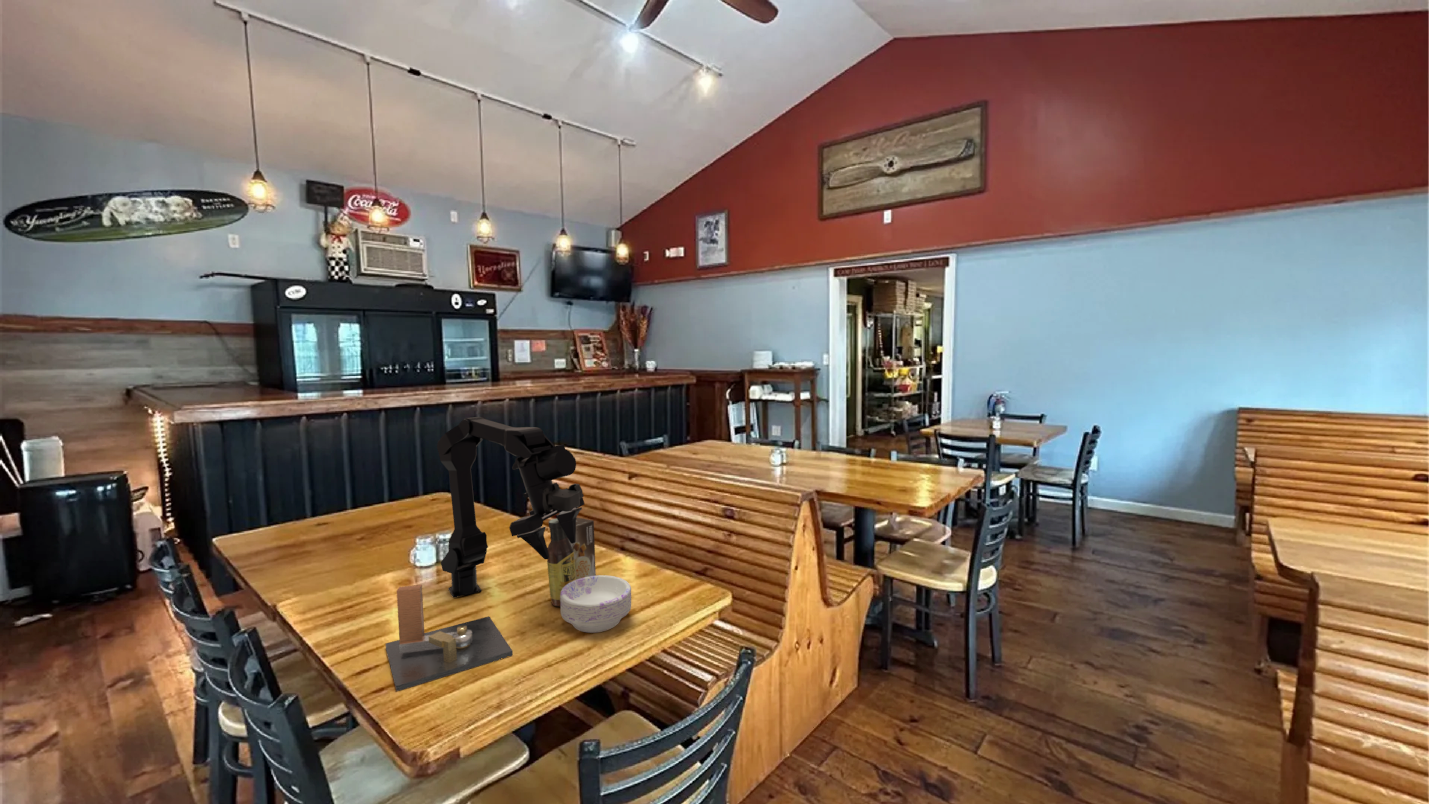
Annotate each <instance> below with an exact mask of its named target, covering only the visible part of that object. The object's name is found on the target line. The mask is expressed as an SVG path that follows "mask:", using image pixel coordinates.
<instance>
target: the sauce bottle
mask: <svg viewBox="0 0 1429 804" xmlns="http://www.w3.org/2000/svg"><path fill="white" fill-rule="evenodd" d="M548 528H549V533H550V534H549V535H550V542H549V544H548V545H547V549H548V553H549V559H546V560H547V562H546V564H547V565H546V566H547V575H548V585H549V586H548V588H549V596H550V599H551V601H550V602H551V604H552V606H555V607H561V605H560V604H561V602H560V593H561V590H562V589H563V587H564V586H566V585H567V584H568V583H570V582H572V581H574V580H576V571H575V560H574V551H573V549H572V546H571V544H570V542H569V540H568V538H567V536H566V534H565V532H564V530H563V529H562V527H561V525H560V523H559V521H558V519H557V518H552V519H550V520H548Z"/></svg>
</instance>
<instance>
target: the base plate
mask: <svg viewBox="0 0 1429 804" xmlns="http://www.w3.org/2000/svg"><path fill="white" fill-rule="evenodd" d="M462 625H465V626H467V629H468V630H471V631H472V642H471V643H470V645H469V646H468V647H466V648H463V649H456V653H457V659H455V660H454V661H452V662H450V663H449V662H446V661H444V654H443V648H438V649H431V650H423V651H416V652H408V653H401V654H400V649H399V644H400V641H399V639H397V640H394V641H390V642H386V643H385V651H386V654H387V659H388V663H389V666H390V670H391V675H392V678H393V683H394V687H395V691H396V692H399V691H402V690H407V689H409V688H412V687H416V686H418V685H422V684H425V683H428V682H432V681H435V680H439V679H441V678H444V677H448V676H452V675H454V674H458V673H461V672H464V671H467V670H470V669H473V668H477V667H480V666H483V665H487V664H490V663H493V661H494V662H497V661H499V659H500V660H502V659H501V658H503V659H506V657H507V656H510V657H513V656H514V655H513V654H514V653H513V649H512V648H511V646H510V645H509V643H508V641H506V638H505V637H504V636H503V635H502V633H501V631H500V630H499V628H498V627H497V626H496V624H495V622H494V621H493V619H492V618H491V616H484V617H481V618H477V619H474V620H470V621H466V622H462V623H459V624H458V623H457V624H454V625H451V626H447V627H442V628H438V629H436V630H431V631H428V632H424V634H425V636H427V635H433V634H435V633H437V632H439V631H441V632H444V633H451V632H457V627H459V626H462ZM512 655H513V656H512ZM507 658H508V657H507Z"/></svg>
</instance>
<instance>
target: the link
mask: <svg viewBox="0 0 1429 804" xmlns="http://www.w3.org/2000/svg"><path fill="white" fill-rule="evenodd" d="M423 599H424V598H423V584H417V585H415V584H414V585H406V586H405V585H404V586H399V587H398V588H397V590H396V600H397V601H396V603H397V618H398V620H397V621H398V637H399V639H398V640H399V641H400V644H399V649H400V654H401V653H408V652H416V651H423V650H431V649H438V648H441V647H439V646H436V645H434V644H431V643H429V637H428V636H430V635H427V636H425V634H424V633H425V620H424V619H425V617H424V602H423ZM446 634H449V635H452V636H453V638H455V639H456V647H463V646H467V645H469V644H470V643H471V642H472V631H471V630H468V629H467V632H466V633H465V634H462V635H459V634H457V632H451V633H446ZM442 648H443V647H442Z"/></svg>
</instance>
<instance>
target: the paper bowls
mask: <svg viewBox="0 0 1429 804" xmlns="http://www.w3.org/2000/svg"><path fill="white" fill-rule="evenodd" d="M560 602H561V604H560V605H561V606H560V615H561V618H562V620H564V621H565V622H567V623H569V624H571V625H572V626H573V628H574V629H576V630H577V631H579V632H583V633H589V634H590V633H591V634H592V633H593V634H594V633H601V632H605V631H609V630H611V629H613V628H615V627H616V626H617V625H618V624H619V623H620V622H621V620H622V618H623V619H624V617H626V616H627V615H628V614H629V612H630V611H631V608H632V586H631V584H630V583H629V582H628V581H627V580H626V579H624V578H622V577H618V576H614V575H605V574H604V575H597V574H596V576H589V577H584V578H580V579H577V580H574V581H572V582H570V583H568V584H567V585H566V586H564V587H563V589H562V590H561V593H560Z"/></svg>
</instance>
